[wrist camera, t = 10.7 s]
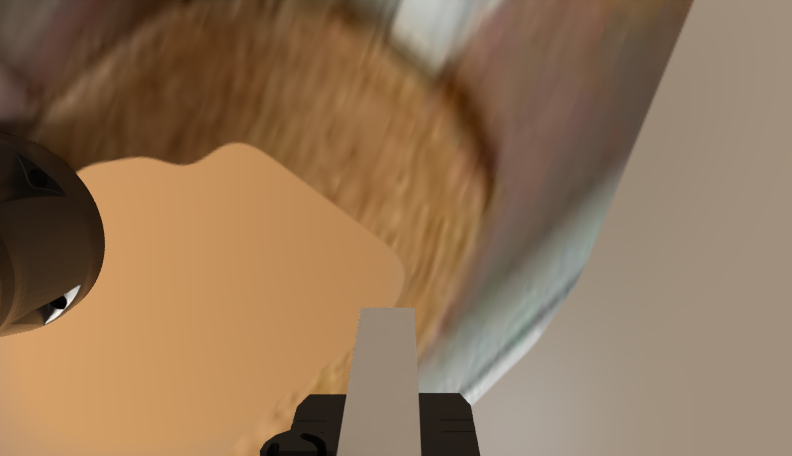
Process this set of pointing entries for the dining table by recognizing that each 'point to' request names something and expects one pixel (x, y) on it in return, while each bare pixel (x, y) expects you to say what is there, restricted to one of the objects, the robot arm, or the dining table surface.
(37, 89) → the dining table surface
